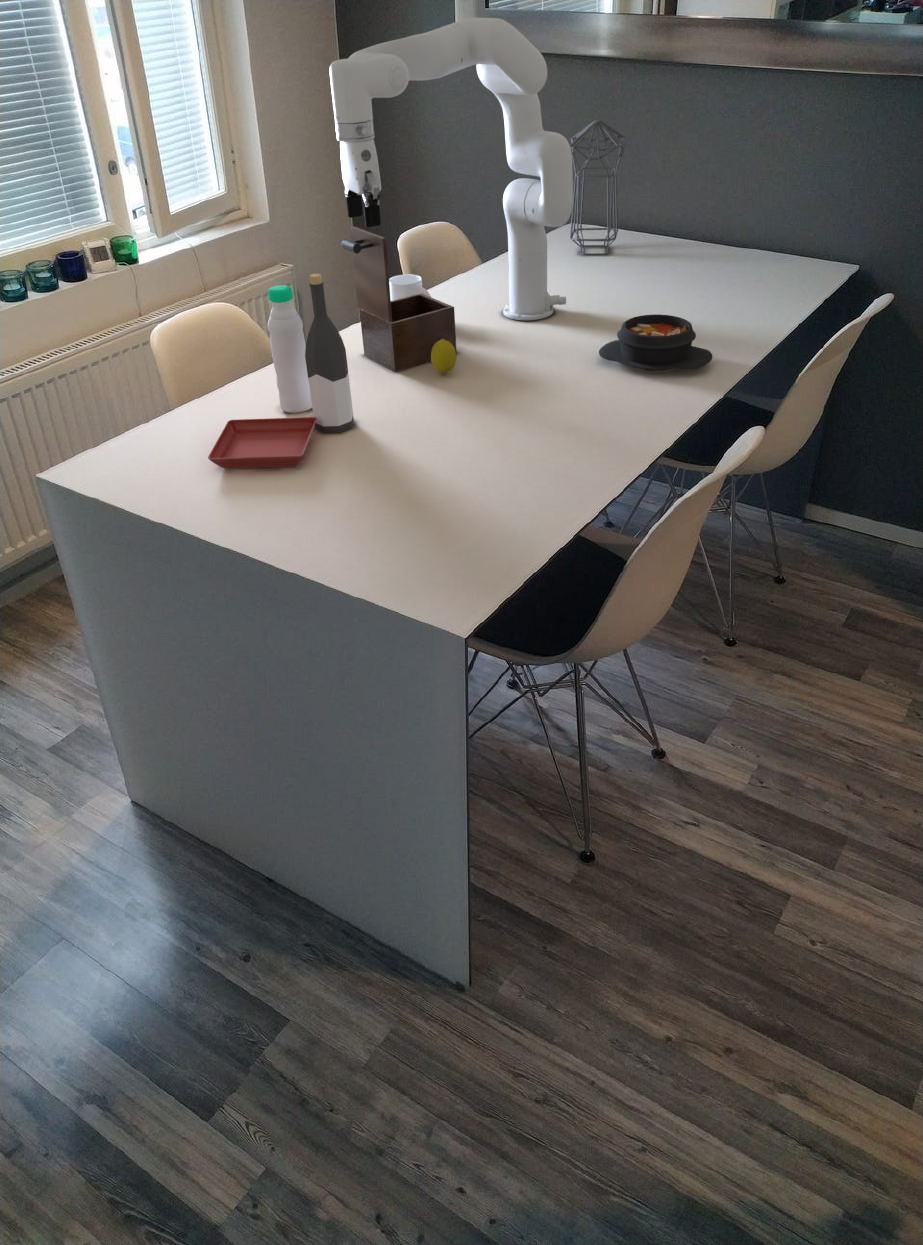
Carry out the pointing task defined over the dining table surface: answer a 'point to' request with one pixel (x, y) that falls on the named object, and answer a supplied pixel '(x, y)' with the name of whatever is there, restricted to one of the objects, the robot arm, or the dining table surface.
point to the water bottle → (288, 351)
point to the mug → (406, 286)
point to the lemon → (443, 356)
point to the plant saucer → (262, 442)
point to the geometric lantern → (614, 139)
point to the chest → (408, 331)
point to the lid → (370, 272)
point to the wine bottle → (327, 368)
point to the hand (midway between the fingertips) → (364, 221)
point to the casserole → (656, 344)
